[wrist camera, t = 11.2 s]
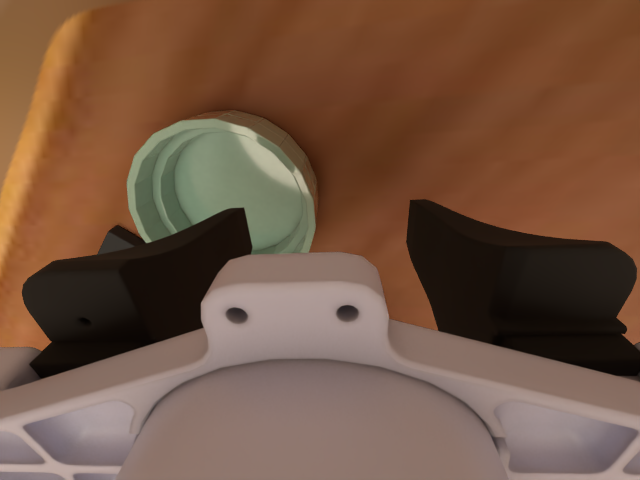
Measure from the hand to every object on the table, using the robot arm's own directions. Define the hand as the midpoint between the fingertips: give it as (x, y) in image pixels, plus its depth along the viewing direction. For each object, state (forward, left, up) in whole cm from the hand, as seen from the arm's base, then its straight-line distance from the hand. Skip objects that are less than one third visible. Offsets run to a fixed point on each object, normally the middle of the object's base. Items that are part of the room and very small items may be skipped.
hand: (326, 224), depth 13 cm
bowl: (-2, +7, -10) cm, 12 cm away
